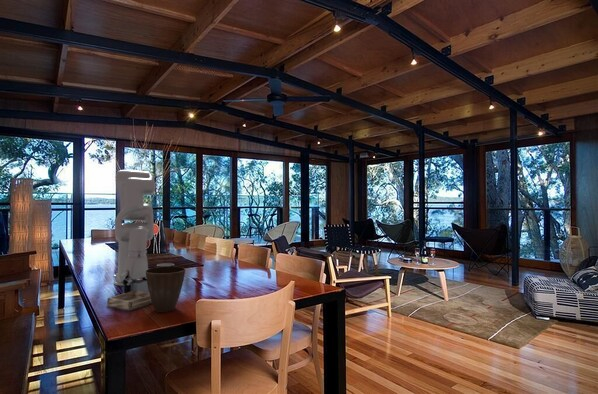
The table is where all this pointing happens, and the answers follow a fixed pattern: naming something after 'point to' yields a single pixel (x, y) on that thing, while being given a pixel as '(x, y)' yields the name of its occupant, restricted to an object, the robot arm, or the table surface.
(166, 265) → the coffee mug
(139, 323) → the table surface
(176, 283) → the plant pot
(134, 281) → the slate crate
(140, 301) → the birch crate
